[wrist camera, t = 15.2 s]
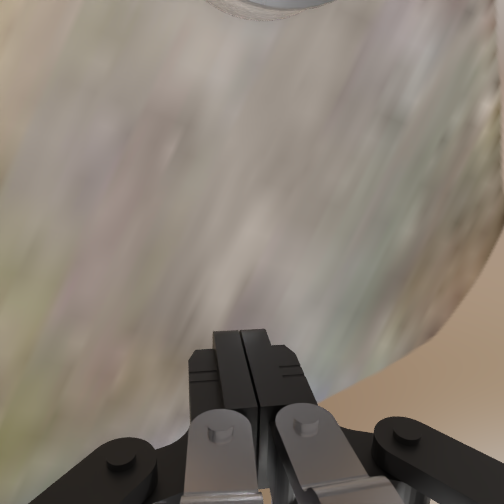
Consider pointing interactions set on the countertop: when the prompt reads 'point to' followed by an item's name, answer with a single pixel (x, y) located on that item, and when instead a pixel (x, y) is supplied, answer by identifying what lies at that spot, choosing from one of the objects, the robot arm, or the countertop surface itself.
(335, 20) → the countertop surface
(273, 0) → the cooker lid
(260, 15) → the cooker pot
